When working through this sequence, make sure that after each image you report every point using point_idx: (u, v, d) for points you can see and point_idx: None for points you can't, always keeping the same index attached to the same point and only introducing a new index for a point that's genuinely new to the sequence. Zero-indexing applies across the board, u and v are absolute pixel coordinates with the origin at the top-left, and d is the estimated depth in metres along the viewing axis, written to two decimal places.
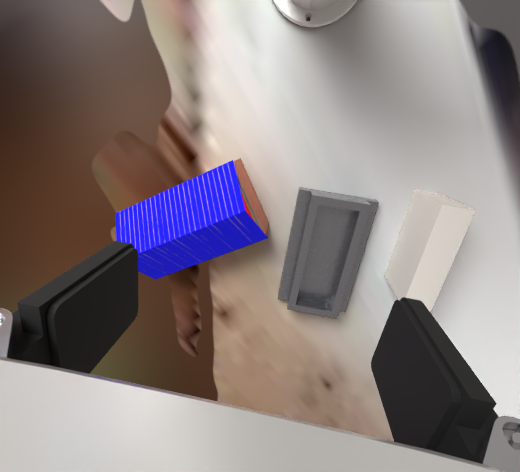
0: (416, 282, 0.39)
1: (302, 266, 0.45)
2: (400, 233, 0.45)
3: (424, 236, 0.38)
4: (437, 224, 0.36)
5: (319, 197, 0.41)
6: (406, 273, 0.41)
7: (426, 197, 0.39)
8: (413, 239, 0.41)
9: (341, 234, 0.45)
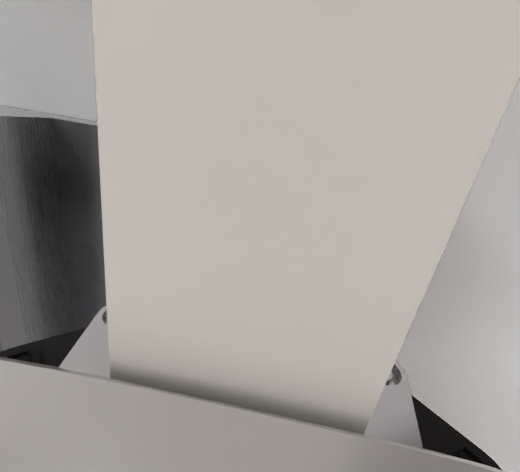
0: None
1: None
2: None
3: None
4: (130, 202, 0.03)
5: None
6: None
7: None
8: None
9: None
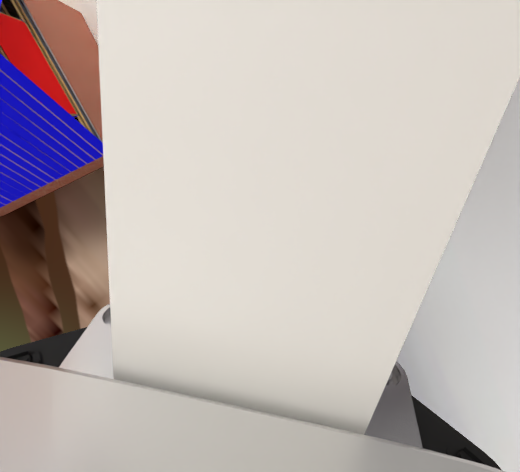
0: None
1: None
2: None
3: None
4: (134, 202, 0.03)
5: None
6: None
7: None
8: None
9: None
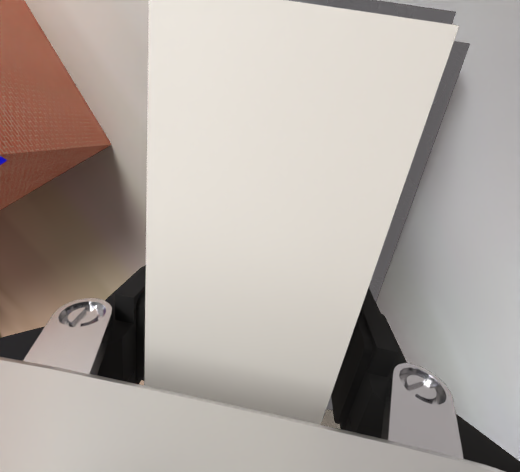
0: None
1: None
2: None
3: None
4: (168, 178, 0.05)
5: None
6: None
7: None
8: None
9: None
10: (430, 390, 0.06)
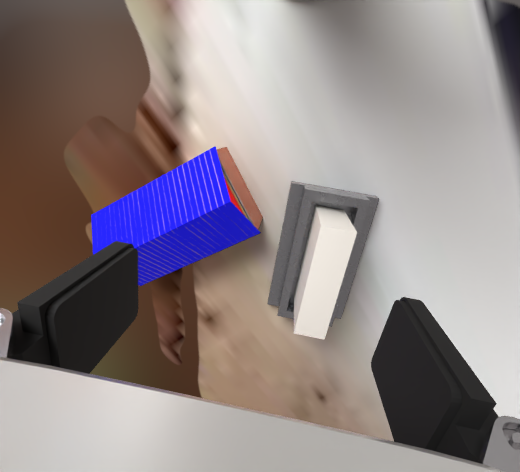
0: (305, 308, 0.36)
1: (294, 268, 0.41)
2: (305, 251, 0.42)
3: (310, 259, 0.34)
4: (318, 247, 0.33)
5: (313, 191, 0.37)
6: (300, 297, 0.38)
7: (317, 215, 0.36)
8: (307, 260, 0.37)
9: None
10: None
